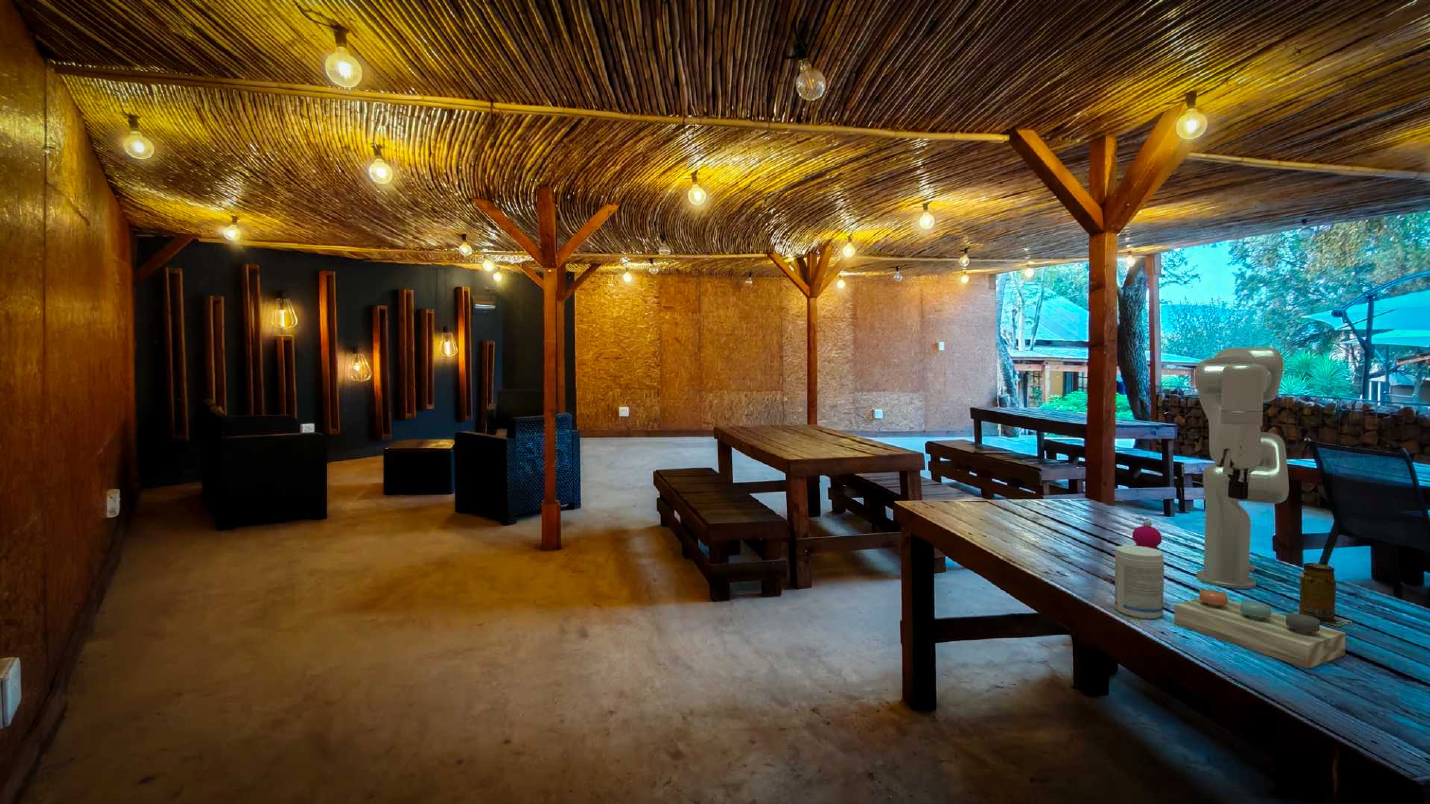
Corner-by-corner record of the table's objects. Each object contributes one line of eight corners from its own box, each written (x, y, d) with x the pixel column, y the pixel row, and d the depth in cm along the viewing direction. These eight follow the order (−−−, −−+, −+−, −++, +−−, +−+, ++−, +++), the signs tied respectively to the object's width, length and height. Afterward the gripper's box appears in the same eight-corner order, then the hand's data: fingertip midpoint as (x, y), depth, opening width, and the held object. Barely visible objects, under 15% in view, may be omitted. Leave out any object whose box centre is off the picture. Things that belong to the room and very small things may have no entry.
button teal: (1247, 622, 141) (1248, 599, 141) (1275, 631, 137) (1276, 607, 137) (1234, 626, 139) (1235, 602, 139) (1262, 635, 135) (1263, 610, 134)
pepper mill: (1168, 607, 156) (1171, 524, 155) (1134, 605, 158) (1137, 522, 157) (1154, 596, 164) (1157, 517, 163) (1122, 595, 165) (1124, 516, 164)
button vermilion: (1207, 610, 149) (1207, 588, 148) (1232, 617, 144) (1232, 595, 144) (1193, 613, 146) (1194, 591, 146) (1218, 621, 142) (1219, 598, 142)
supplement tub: (1173, 618, 150) (1175, 554, 149) (1138, 621, 148) (1140, 557, 147) (1137, 603, 159) (1138, 543, 158) (1104, 606, 157) (1105, 546, 156)
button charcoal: (1293, 636, 134) (1294, 611, 134) (1324, 645, 130) (1325, 620, 129) (1279, 640, 132) (1280, 615, 132) (1310, 650, 127) (1311, 624, 127)
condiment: (1305, 609, 155) (1308, 559, 154) (1352, 622, 147) (1355, 569, 147) (1289, 614, 152) (1292, 563, 151) (1337, 627, 144) (1339, 574, 143)
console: (1211, 614, 152) (1211, 595, 152) (1344, 655, 130) (1345, 632, 130) (1174, 624, 146) (1174, 604, 146) (1307, 668, 124) (1308, 645, 124)
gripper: (1240, 416, 156) (1237, 492, 157) (1203, 418, 150) (1200, 498, 151) (1278, 418, 150) (1275, 498, 151) (1241, 421, 143) (1237, 504, 144)
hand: (1237, 498), depth 151 cm, fingers closed
